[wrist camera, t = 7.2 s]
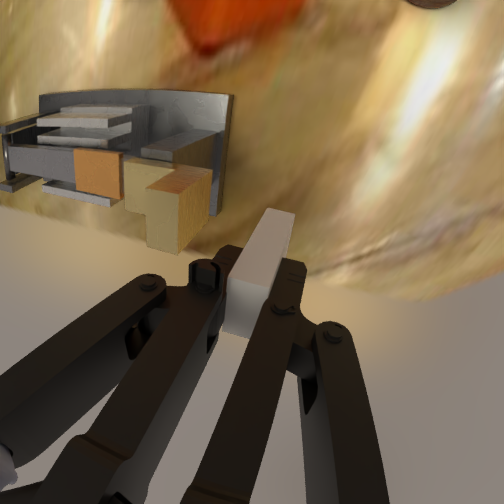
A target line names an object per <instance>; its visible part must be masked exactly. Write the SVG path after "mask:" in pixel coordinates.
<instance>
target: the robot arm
mask: <svg viewBox="0 0 504 504" xmlns="http://www.w3.org/2000/svg"><path fill="white" fill-rule="evenodd" d="M294 218H295V214H293V213H289V212H285V211H280V210H276V209H272V208H267V209H266V211H265V213H264V214H263V216H262V218H261V219H260V221H259V223H258V225H257V226H256V228H255V230H254V232H253V233H252V235H251V237H250V239H249V240H248V242H247V244H246V246H245V247H244V248H240V247H236V246H232V245H226V246H224V247H222V248H221V249H219V251H218V252H217V254H216V256H215V257H214V258H213V259H198V260H195V261H193V262H191V263H190V264H189V283H188V284H187V286H178V287H177V286H166V281H165V279H163V278H162V277H161V276H159V275H156V274H143V275H140V276H138V277H136V278H135V279H133V280H132V281H130V282H129V283H127V284H126V285H124V286H123V287H122V288H120V289H119V290H117V291H116V292H114V293H113V294H111V295H110V296H108V297H107V298H106V299H104V300H103V301H101V302H100V303H98V304H97V305H95V306H94V307H93V308H91V309H90V310H88V311H87V312H85V313H84V314H83V315H81V316H80V317H79V318H77V319H76V320H74V321H73V322H71V323H70V324H69V325H67V326H66V327H64V328H63V329H62V330H60V331H59V332H58V333H56V334H55V335H53V336H52V337H51V338H49V339H48V340H47V341H45V342H44V343H43V344H41V345H40V346H39V347H37V348H36V349H35V350H33V351H32V352H31V353H29V354H28V355H27V356H25V357H24V358H23V359H21V360H20V361H19V362H17V363H16V364H15V365H13V366H12V367H11V368H10V369H8V370H7V371H6V372H4V373H3V374H2V375H0V504H144V502H145V499H146V497H147V492H148V486H149V483H150V481H151V478H152V476H153V474H154V472H155V470H156V468H157V466H158V464H159V462H160V460H161V458H162V456H163V454H164V452H165V450H166V448H167V445H168V443H169V441H170V439H171V437H172V435H173V433H174V431H175V429H176V427H177V425H178V422H179V421H180V418H181V416H182V414H183V412H184V410H185V408H186V406H187V404H188V402H189V400H190V398H191V396H192V393H193V391H194V389H195V387H196V385H197V383H198V381H199V379H200V377H201V375H202V373H203V371H204V368H205V366H206V364H207V362H208V360H209V358H210V356H211V354H212V352H213V350H214V347H215V345H216V343H217V341H218V336H219V330H220V328H221V326H222V324H223V327H222V331H224V332H227V333H230V334H234V335H237V336H241V337H244V338H248V339H250V340H249V342H248V345H247V348H246V350H245V353H244V356H243V358H242V361H241V363H240V366H239V369H238V371H237V374H236V377H235V379H234V381H233V384H232V387H231V389H230V392H229V394H228V397H227V399H226V402H225V404H224V407H223V410H222V412H221V414H220V417H219V419H218V422H217V424H216V427H215V429H214V432H213V434H212V436H211V439H210V441H209V444H208V446H207V449H206V451H205V454H204V456H203V458H202V461H201V463H200V466H199V468H198V471H197V473H196V475H195V477H194V479H193V482H192V483H191V485H190V486H189V487H188V488H187V490H186V492H185V494H184V496H183V498H182V500H181V502H180V504H249V501H250V498H251V494H252V491H253V488H254V485H255V481H256V478H257V475H258V471H259V468H260V465H261V462H262V458H263V455H264V452H265V448H266V445H267V441H268V438H269V434H270V430H271V427H272V423H273V419H274V416H275V412H276V408H277V404H278V400H279V397H280V393H281V389H282V385H283V381H284V377H285V373H286V370H288V371H289V372H291V373H293V374H295V375H297V382H298V393H299V405H300V417H301V429H302V441H303V455H304V469H305V485H306V502H307V504H390V502H389V496H388V491H387V486H386V479H385V475H384V468H383V463H382V458H381V454H380V449H379V444H378V439H377V434H376V430H375V425H374V421H373V416H372V412H371V408H370V404H369V400H368V395H367V392H366V387H365V384H364V379H363V376H362V372H361V368H360V364H359V361H358V357H357V353H356V349H355V346H354V342H353V339H352V336H351V334H350V332H349V330H348V329H347V328H346V327H345V326H343V325H341V324H339V323H337V322H332V321H328V322H323V323H320V324H319V325H316V324H314V323H312V322H311V321H309V320H308V319H306V318H305V317H304V316H303V314H302V313H301V310H300V303H301V297H302V293H303V288H304V283H305V278H306V273H307V269H306V266H305V264H304V262H299V261H295V260H291V259H287V258H286V255H287V250H288V246H289V241H290V237H291V232H292V227H293V223H294ZM117 384H118V386H117V387H116V389H115V391H114V392H113V393H112V395H111V397H110V398H109V399H108V401H107V403H106V404H105V406H104V407H103V409H102V410H101V412H100V413H99V415H98V416H97V418H96V419H95V421H94V423H93V424H92V426H91V427H90V429H89V430H88V431H87V432H86V433H85V434H82V435H76V436H75V437H73V438H72V439H71V440H70V441H69V442H68V443H67V445H66V446H65V448H64V449H63V451H62V452H61V454H60V455H59V457H58V459H57V460H56V462H55V463H54V465H53V467H52V468H51V470H50V471H49V473H48V475H47V476H46V478H45V479H44V480H43V481H40V482H36V483H33V484H30V485H26V486H22V487H19V488H14V489H11V490H6V491H2V492H1V490H2V489H3V488H4V487H5V486H6V485H8V484H14V483H15V482H16V481H17V478H18V476H17V473H16V471H15V469H16V468H18V467H21V466H23V465H25V464H27V463H28V462H30V461H32V460H33V459H35V458H36V457H37V456H39V455H40V454H41V453H42V452H43V451H45V450H46V449H47V448H48V447H49V446H50V445H51V444H52V443H54V442H55V441H56V440H57V439H58V438H59V437H60V436H61V435H62V434H64V432H66V431H67V430H68V429H69V428H70V427H71V426H72V425H73V424H74V423H76V422H77V421H78V420H79V419H80V418H81V417H82V416H83V415H85V414H86V413H87V412H88V411H89V410H90V409H91V408H92V407H93V406H94V405H96V404H97V403H98V402H99V401H100V400H101V399H102V398H103V397H104V396H105V395H107V394H108V393H109V392H110V391H111V390H112V389H113V388H114V387H115V386H116V385H117Z"/></svg>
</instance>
